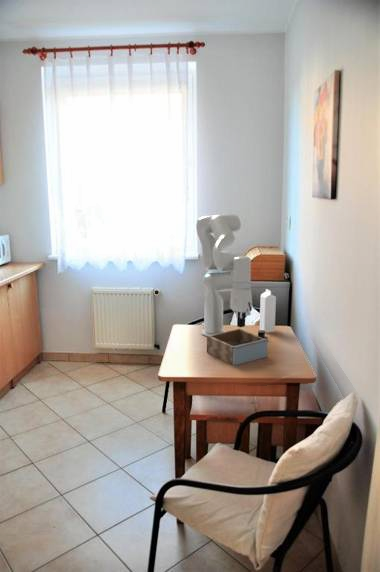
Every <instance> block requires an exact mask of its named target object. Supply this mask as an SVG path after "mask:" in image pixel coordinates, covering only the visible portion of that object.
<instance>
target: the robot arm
mask: <svg viewBox="0 0 380 572" xmlns="http://www.w3.org/2000/svg"><path fill="white" fill-rule="evenodd" d="M195 226H196V234H197V236H198V239H199V241H200V246H201V251H202V260H203V261H202V263H203V267H204V268H205V270H206V271H217V272H207V274H205V275H204V276H203V277H202V287H203V295H204V309H203V310H204V313H203V314H204V316H203V317H204V318H203V320H204V321H203V323H201V327H203V328H202V329H201V331H200V334H201V335H203V336H206V337H207V336H209V335H213V334H218V333H223V332H227V330H225V329H224V299H223V297H222V295H221V294H220V293H219V292H228V291H229V292H230V298H229V309H230V310H232V312H234V313H235V315H236V319H237V320H236V321H237V323H236V327H238V328H244V327H245V326H246V318H247V317H248V316H252V315H251V312H252V310H253V295H252V289H251V282H252V281H251V279H252V278H251V276H252V275H251V273H252V271H251V270H252V269H251V267H252V263H251V262H252V260H251V258H250V257H249V256H246V255H245V254H243V253H232V252H231V251H228V250H225V249H227V248H229V247H230V246H231V247H232V245H233V244H234V242H235V240H236V237H235V235H234V233H237V232H239V231H240V229H241V220H240V217H239V216H238V215H236V214H217V215H205V216H201V217H199V218H198V219H197V220H196V225H195ZM218 271H219V272H218Z"/></svg>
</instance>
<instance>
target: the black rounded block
mask: <svg viewBox="0 0 380 572" xmlns="http://www.w3.org/2000/svg"><path fill="white" fill-rule="evenodd" d="M257 336H259V337H262V338H264V339H268V337H269V336H266V333H265V331H264V330H260V329H259V330H258V332H257Z"/></svg>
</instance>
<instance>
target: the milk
mask: <svg viewBox="0 0 380 572" xmlns="http://www.w3.org/2000/svg"><path fill="white" fill-rule="evenodd" d="M276 304H277V296H276V295H274V294H272V290H270V289H268V288H265V292H262V293H261V294H260V304H259V305H260V307H259V330H264V331H265V334H268V333H274V332H275V330H276Z"/></svg>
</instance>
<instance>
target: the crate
mask: <svg viewBox="0 0 380 572" xmlns="http://www.w3.org/2000/svg"><path fill="white" fill-rule="evenodd" d="M262 339H264V338H262V337H259V336H258V335H257V334H253V333H251V332H248V331H246V330H243V329H241V328H238V329H233V330H228V331H227V330H226V332H223V333H218V334H213V335H209V336H206V353H208V354H210V355H212V356H213V357H216V358H218V359H219V360H222V361H224V362H225V363H228V364H230V365H233V346H237V345H241V344H245V343H249V342H254V341H258V340H262Z"/></svg>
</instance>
